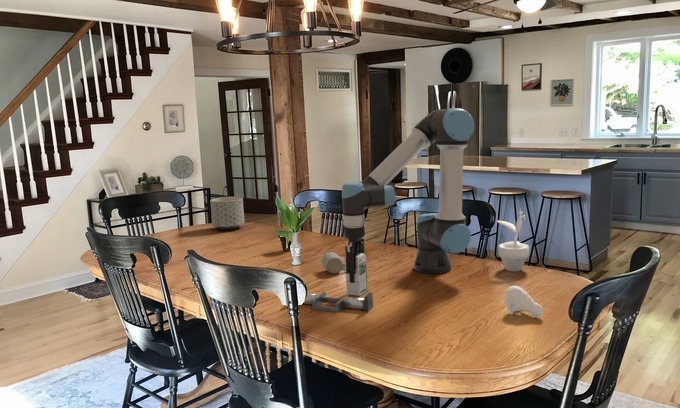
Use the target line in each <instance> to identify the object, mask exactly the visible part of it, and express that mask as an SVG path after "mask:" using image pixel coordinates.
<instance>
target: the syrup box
mask: <svg viewBox="0 0 680 408" xmlns="http://www.w3.org/2000/svg"><path fill="white" fill-rule="evenodd" d="M366 255H367V254H366V253H365V254H364V253H358V255H357V256H356V273H357V291H350V286H349V274H346V273H345V283H346V285H345V286H346V294H349V296H350V295H351V296H358V297H360V296H362V295H363V294H365V293H367V292H368V291H369V290H368V272H367V257H366ZM344 264H345V271H344V272H346V255H345V256H344Z"/></svg>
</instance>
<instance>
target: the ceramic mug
mask: <svg viewBox="0 0 680 408" xmlns="http://www.w3.org/2000/svg"><path fill="white" fill-rule="evenodd" d="M321 265H322V266H323V268H324V269H325V270H326V271H327V272H328V273H330V274H332V275H336V274H339V273H340V272H341V271H344V272H346V271H345V263H343V260H342V259H341V257H340V256H339V255H338V254H337V253H335V252H332V251H331V252H330V251H329V252H326V253H324V255H323V257H322V258H321Z"/></svg>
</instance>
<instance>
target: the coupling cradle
mask: <svg viewBox="0 0 680 408" xmlns="http://www.w3.org/2000/svg"><path fill="white" fill-rule="evenodd" d="M306 293H307V292H306ZM325 302H332V303H335V304H336V305H335V306H336V307H334V306H323V305H322V304H324V303H325ZM304 304H305V305H311V306H312V311H313V310H314V311H325V312H333V313H340V311H342V310H343V309H345V308H347V309H355V310H356V309H357V310H364V313H369V312H370V311H371V310H372V309H373V308H374V298H373V292H368V293H367V294H366V295H365V296H364V297H362V298H361V297H352V296H350V294H347V293H346V294H345V295H344V296H342V297H341V298H339V297H331V296H330V297H329V296H327V293H326V291H323V292H322V293H320V294H318V293H317V294H316V293H307V298H306V301H305V303H304ZM304 304H303V305H304Z"/></svg>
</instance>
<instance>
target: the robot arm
mask: <svg viewBox="0 0 680 408" xmlns="http://www.w3.org/2000/svg"><path fill="white" fill-rule="evenodd" d="M474 131H475V121H474V118H473V117H472V115H471V114H470V113H469V111H467V110H465V109H463V108H458V107H457V108H456V107H454V108H453V107H452V108H439V109H435V110H432V111H431V112H430V113H428V114H427V115H426V116H425V117H424V118H422V119H421V120H420V121H418V123H417V124H416V125H415V126H414V127H413V128H412V129H411V133H410V134H409V135H408V136H407V137H406V138H405V139H404V140H403V141H402V142H401V143H400V144H399V145H397V147H395V149H393V151H392V152H391V153H390V154H389V155H388V156H387V157H386V158H385V159H383V161H382V162H381V163H380V164H379V165H378V166H377V167H375V169H374V170H372V172H371V173H369V175H367V176H366V177H365V178H364V179H363V180H362V181H358V182H357V181H356V182H353V181H352V182H347V183H344V184H343V185H342V186H341V199H342V215H343V216H342V220H343V226H344V227H343V236H344V238H346V239H347V240H348V242H347V245H345V247H344V249H345V256H346V271H345V275H346V274H349V286H350V291H357V273H356V256H357V255H358V253H364V254H366V253H365V238H364V237H365V236H366V231H365V230H366V227H365V223H366V222H365V221H366V220H365V209H371V208H380V207H382V208H383V207H385V208H386V207H389V206H393V205H394V203H395V202H396V197H397V196H396V190H395V189H394V188H395V187H394V186H392V185H389V183H390V182H391V181H392V180H393V179H394V178H395V177H396V176H397V175H398V174H399V173H400V172H402V170H403V169H405V168H406V167H407V165H408V164H410V162H411V161H412V160H414V158H416V157H417V155H418V154H420V152H422V150H424V149H425V148H429V147H430V146H432V145H433V144H434V143H436V147H438V149H439V192H438V193H439V196H438V201H439V202H438V212H433V213H423V214H420V215H418V216H417V219H416V228H417V229H416V230H417V231H416V235H417V252H416V256H415V259H414V261H413V262H414V263H413V269H414V270H415V271H416V272H418V273H421V274H432V275H434V274H444V273H448V272H450V271H451V270H452V262H451V259H450V256H449V253H450V254H459V253H461V252H463V251H464V250H465V249H467V247H468V246H469V244H470V242H471V240H472V232H471V230H470V228H469V227H468V226H467V225H466V224H467V222H466V221H467V219H466V218H467V217H466V216H465V215H464V213H463V185H464V184H463V180H464V179H463V178H464V177H463V176H464V173H463V172H464V150H465V149H466V148H467V147H468V146H469V145H468V144H469V139H470V138H471V136H473V134H474Z"/></svg>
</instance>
